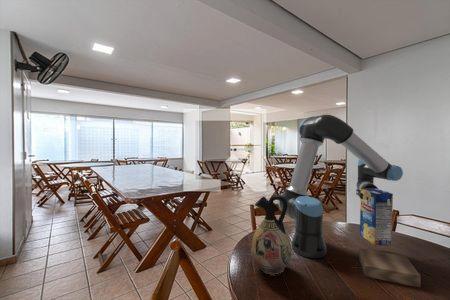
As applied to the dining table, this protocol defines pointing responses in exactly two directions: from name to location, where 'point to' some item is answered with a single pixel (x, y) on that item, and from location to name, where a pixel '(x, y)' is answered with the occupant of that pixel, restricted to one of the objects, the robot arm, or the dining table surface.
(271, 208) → the ceramic jug
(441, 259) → the dining table surface
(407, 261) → the walnut pedestal block
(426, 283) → the dining table surface
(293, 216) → the robot arm
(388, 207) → the beverage box
